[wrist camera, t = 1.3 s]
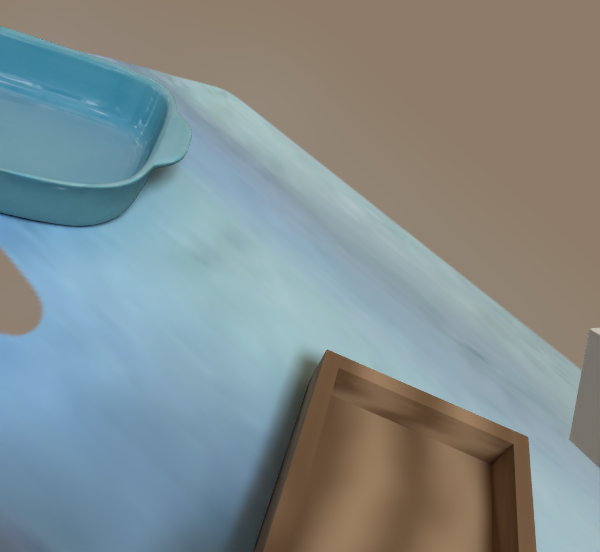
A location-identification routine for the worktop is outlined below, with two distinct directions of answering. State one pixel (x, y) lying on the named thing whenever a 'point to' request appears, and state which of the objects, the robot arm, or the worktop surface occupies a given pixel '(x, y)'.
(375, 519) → the walnut tray
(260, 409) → the worktop surface
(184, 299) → the worktop surface
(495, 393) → the worktop surface
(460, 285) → the worktop surface
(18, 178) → the casserole dish
